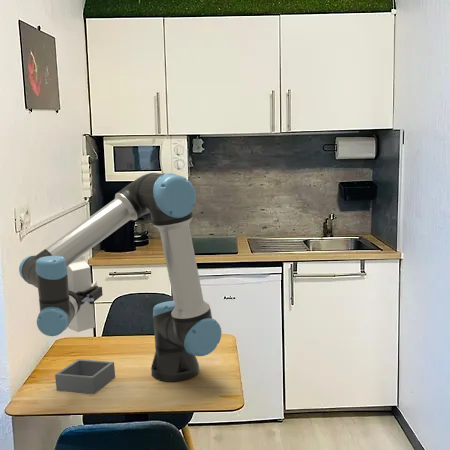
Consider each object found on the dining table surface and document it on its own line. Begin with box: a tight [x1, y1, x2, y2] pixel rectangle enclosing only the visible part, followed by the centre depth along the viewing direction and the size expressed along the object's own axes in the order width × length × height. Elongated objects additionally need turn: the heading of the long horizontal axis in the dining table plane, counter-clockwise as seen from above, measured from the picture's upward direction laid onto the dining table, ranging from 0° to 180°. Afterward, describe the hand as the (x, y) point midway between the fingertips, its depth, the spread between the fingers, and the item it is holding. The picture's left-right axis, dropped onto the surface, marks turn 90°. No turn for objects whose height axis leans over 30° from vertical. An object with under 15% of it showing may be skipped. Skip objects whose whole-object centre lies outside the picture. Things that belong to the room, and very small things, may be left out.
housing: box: [54, 358, 116, 395], centre depth 193 cm, size 13×13×5 cm
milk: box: [67, 255, 96, 333], centre depth 189 cm, size 6×6×22 cm
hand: (81, 286), depth 192 cm, fingers closed on milk, 8 cm apart
